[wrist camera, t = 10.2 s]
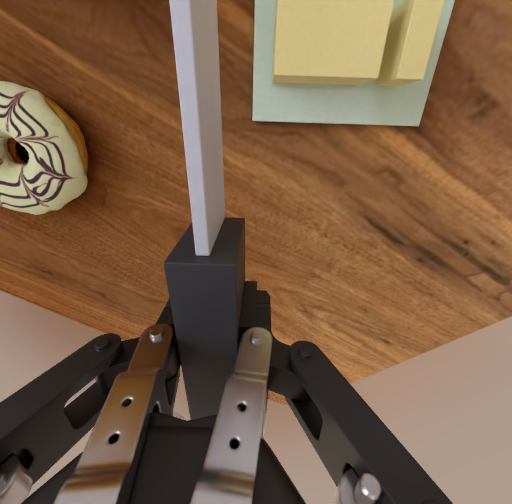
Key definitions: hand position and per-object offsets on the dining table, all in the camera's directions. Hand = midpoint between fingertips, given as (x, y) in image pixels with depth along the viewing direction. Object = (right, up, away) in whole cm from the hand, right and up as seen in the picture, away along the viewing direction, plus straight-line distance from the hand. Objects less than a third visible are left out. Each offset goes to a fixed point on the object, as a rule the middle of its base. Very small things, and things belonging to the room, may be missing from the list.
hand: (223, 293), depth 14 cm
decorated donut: (-19, +12, +10) cm, 24 cm away
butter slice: (+12, +17, +5) cm, 22 cm away
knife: (0, +5, -2) cm, 6 cm away
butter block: (+7, +18, +5) cm, 20 cm away
